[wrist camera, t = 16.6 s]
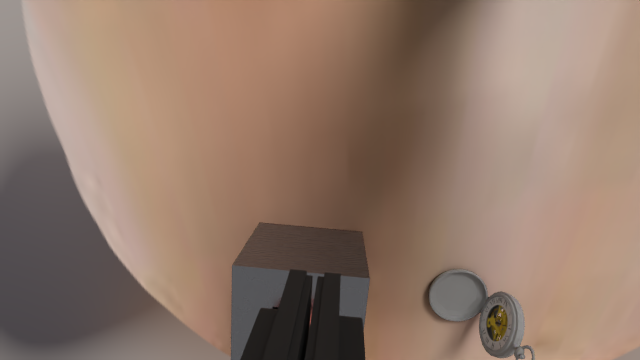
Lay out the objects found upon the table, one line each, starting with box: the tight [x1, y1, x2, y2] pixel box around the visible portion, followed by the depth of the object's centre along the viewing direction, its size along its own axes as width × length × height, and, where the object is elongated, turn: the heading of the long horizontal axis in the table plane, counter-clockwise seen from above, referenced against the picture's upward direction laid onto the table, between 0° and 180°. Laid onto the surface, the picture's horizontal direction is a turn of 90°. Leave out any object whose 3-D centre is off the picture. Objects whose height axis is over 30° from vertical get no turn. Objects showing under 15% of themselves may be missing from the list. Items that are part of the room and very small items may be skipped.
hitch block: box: [231, 223, 370, 360], centre depth 36 cm, size 12×12×10 cm
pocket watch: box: [429, 269, 535, 360], centre depth 36 cm, size 8×8×10 cm
